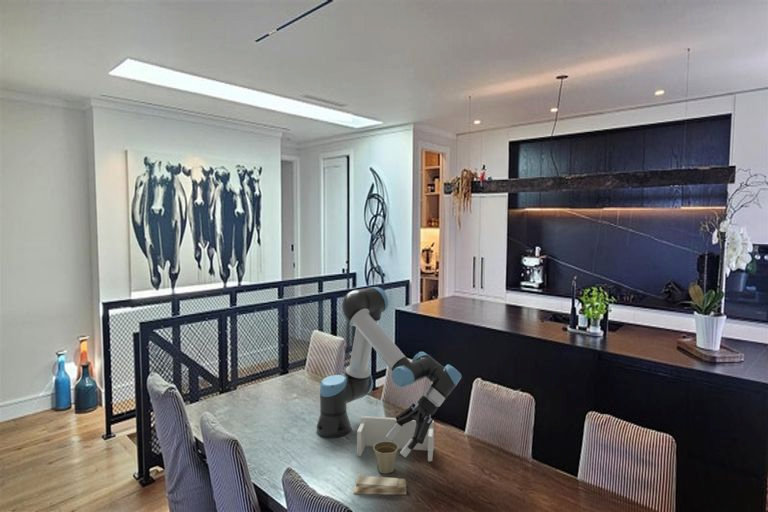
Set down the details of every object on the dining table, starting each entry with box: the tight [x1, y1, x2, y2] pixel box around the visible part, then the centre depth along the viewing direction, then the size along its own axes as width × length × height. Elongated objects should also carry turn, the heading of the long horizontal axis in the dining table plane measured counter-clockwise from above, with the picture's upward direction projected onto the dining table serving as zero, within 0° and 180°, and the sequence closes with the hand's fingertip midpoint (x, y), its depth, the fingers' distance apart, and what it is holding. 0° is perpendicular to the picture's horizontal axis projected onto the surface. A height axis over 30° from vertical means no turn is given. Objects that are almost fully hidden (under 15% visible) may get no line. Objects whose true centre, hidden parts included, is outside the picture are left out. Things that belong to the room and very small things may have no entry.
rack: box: [356, 415, 435, 462], centre depth 180 cm, size 30×10×12 cm, turn 81°
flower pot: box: [372, 441, 400, 474], centre depth 168 cm, size 9×9×9 cm
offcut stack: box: [353, 475, 407, 496], centre depth 155 cm, size 18×7×4 cm, turn 89°
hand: (395, 446), depth 167 cm, fingers open, 13 cm apart
